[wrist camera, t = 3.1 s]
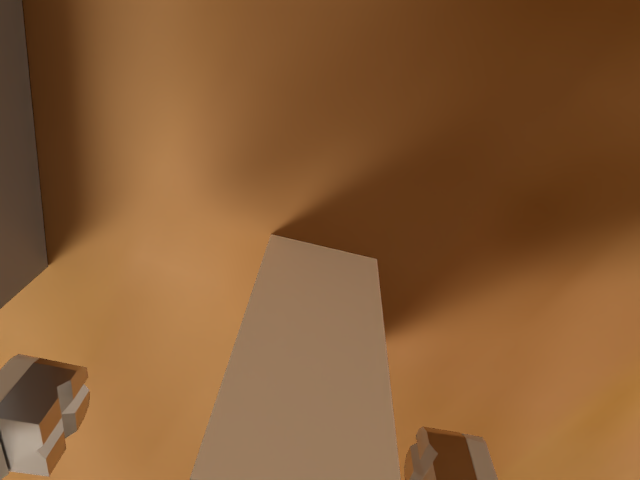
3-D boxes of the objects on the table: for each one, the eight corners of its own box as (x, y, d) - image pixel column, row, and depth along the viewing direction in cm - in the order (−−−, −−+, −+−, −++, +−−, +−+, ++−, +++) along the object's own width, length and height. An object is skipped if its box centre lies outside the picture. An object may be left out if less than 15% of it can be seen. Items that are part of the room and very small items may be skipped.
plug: (326, 400, 17) (310, 671, 10) (240, 381, 17) (165, 646, 10) (376, 258, 14) (404, 519, 7) (270, 234, 14) (189, 478, 7)
